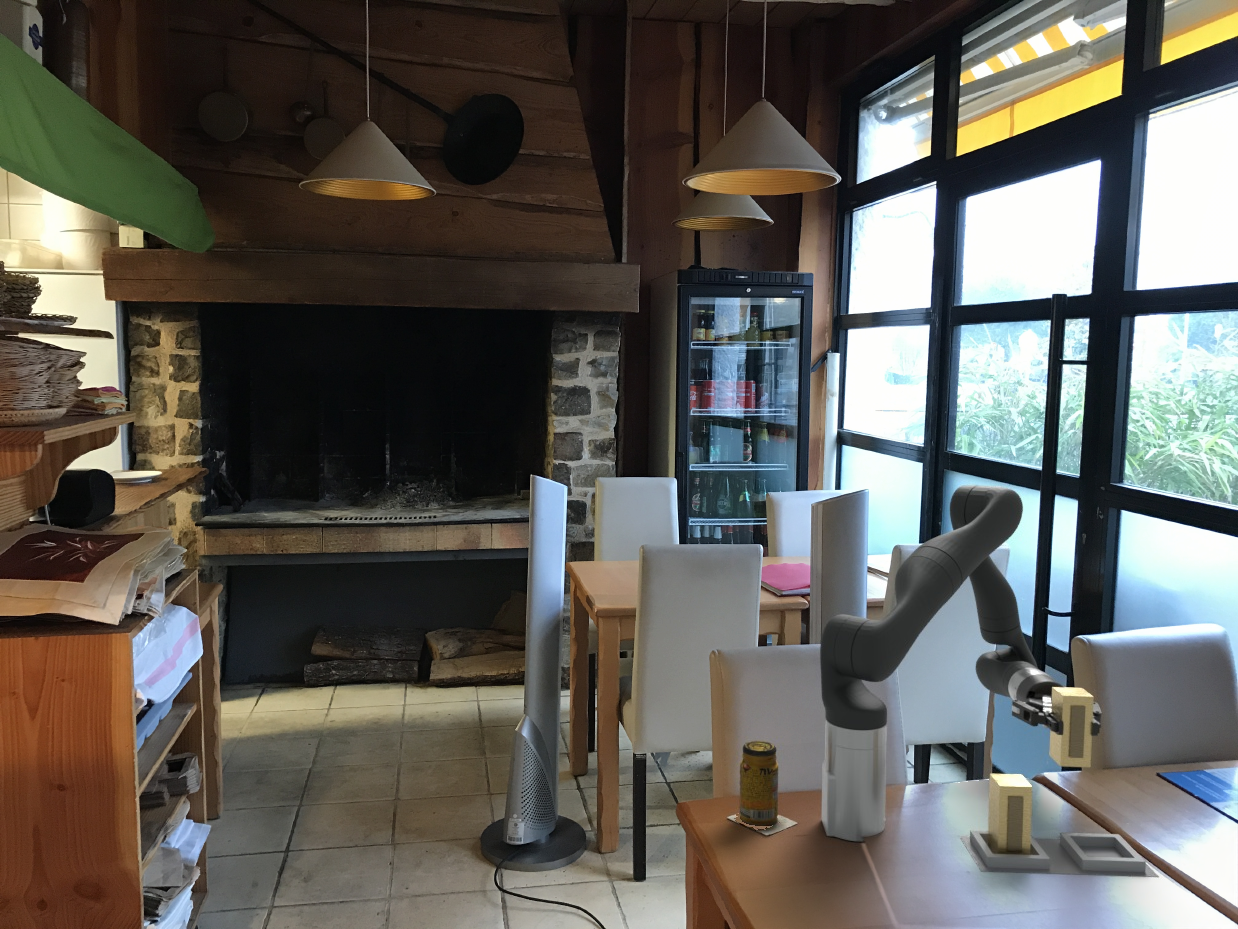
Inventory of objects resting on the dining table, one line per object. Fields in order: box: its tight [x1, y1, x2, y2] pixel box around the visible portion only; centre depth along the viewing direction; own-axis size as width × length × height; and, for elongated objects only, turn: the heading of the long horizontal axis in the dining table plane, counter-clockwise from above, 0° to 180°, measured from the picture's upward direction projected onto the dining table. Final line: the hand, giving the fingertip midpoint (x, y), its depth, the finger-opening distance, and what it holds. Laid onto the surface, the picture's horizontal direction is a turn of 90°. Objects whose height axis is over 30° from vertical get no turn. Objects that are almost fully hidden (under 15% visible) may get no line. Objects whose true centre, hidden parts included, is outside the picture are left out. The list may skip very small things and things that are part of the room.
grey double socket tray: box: [959, 829, 1160, 878], centre depth 142 cm, size 24×11×2 cm, turn 86°
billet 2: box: [1048, 686, 1095, 768], centre depth 152 cm, size 4×5×11 cm
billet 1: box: [987, 773, 1033, 855], centre depth 142 cm, size 4×5×11 cm
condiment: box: [726, 740, 798, 836], centre depth 155 cm, size 7×8×12 cm
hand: (1078, 729), depth 149 cm, fingers closed on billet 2, 4 cm apart
